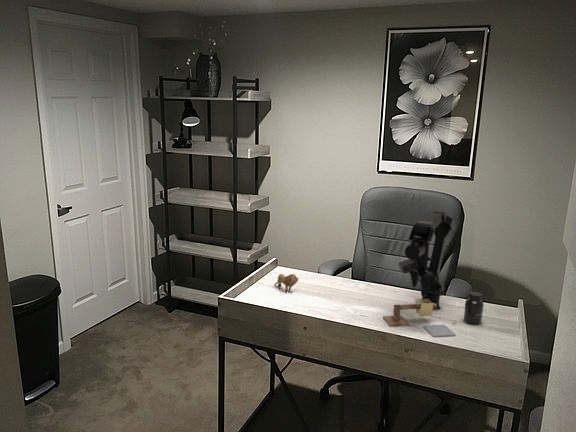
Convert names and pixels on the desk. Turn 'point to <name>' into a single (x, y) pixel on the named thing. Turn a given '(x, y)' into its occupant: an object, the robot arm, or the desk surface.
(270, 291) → the desk surface
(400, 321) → the walnut stand
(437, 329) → the slate mat
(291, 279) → the lion figurine
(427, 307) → the slotted brass block
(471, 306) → the supplement bottle
